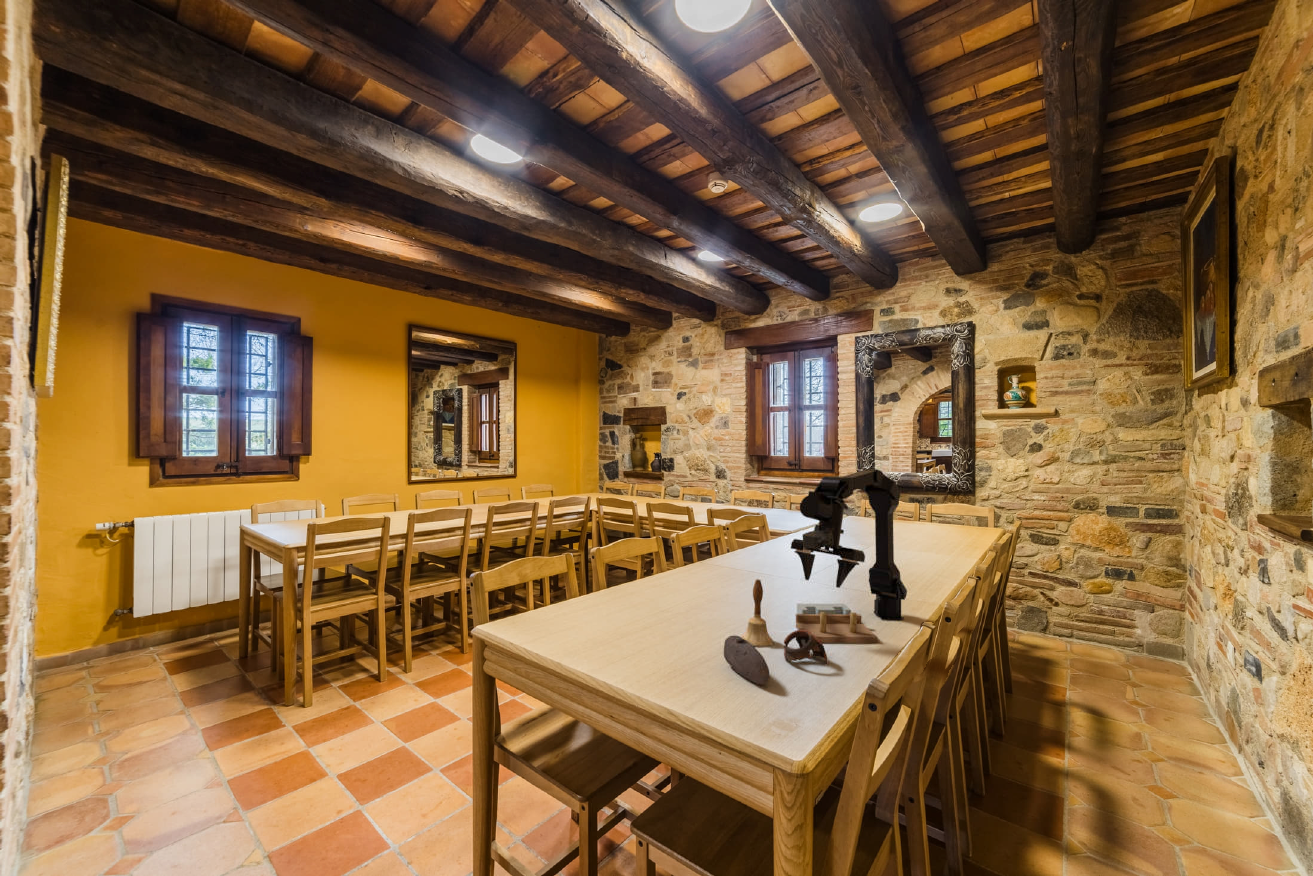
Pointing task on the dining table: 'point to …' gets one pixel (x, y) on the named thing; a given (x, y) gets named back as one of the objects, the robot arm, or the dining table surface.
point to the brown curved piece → (804, 646)
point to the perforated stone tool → (746, 660)
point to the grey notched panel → (822, 608)
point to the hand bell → (757, 621)
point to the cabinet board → (836, 627)
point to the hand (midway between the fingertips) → (822, 583)
